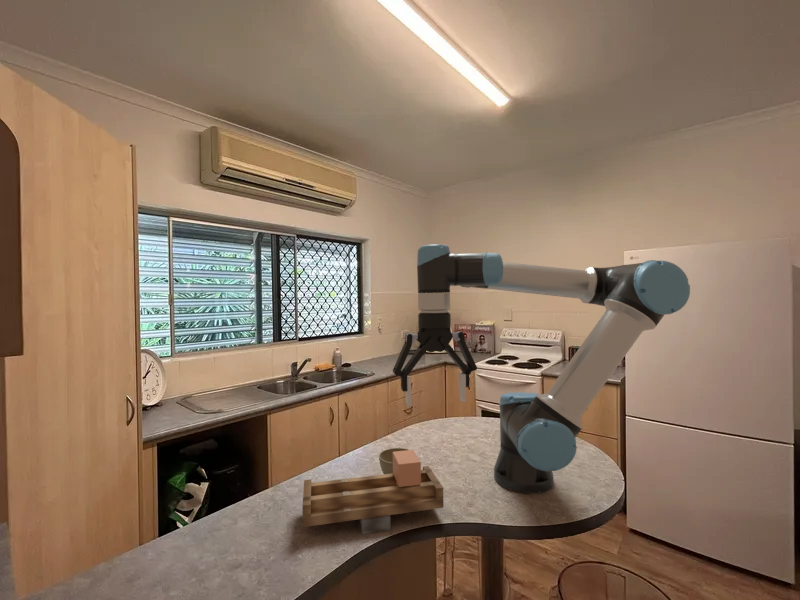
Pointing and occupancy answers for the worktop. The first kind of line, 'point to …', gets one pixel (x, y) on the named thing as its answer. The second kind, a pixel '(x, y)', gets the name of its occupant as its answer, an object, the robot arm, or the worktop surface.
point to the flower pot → (388, 459)
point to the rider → (406, 468)
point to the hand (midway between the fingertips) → (435, 403)
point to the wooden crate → (368, 500)
